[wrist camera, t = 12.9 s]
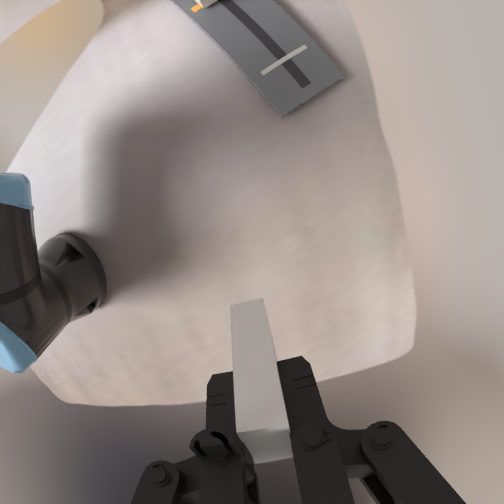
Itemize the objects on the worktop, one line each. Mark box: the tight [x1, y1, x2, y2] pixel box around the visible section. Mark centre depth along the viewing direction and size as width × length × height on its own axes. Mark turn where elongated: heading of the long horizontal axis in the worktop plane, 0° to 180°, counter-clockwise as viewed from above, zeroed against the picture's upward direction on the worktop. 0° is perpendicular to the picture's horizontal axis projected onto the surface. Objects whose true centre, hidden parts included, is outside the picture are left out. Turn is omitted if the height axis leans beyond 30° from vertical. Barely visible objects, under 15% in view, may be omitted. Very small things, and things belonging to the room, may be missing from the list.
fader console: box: [171, 0, 344, 118], centre depth 28 cm, size 28×10×2 cm, turn 38°
